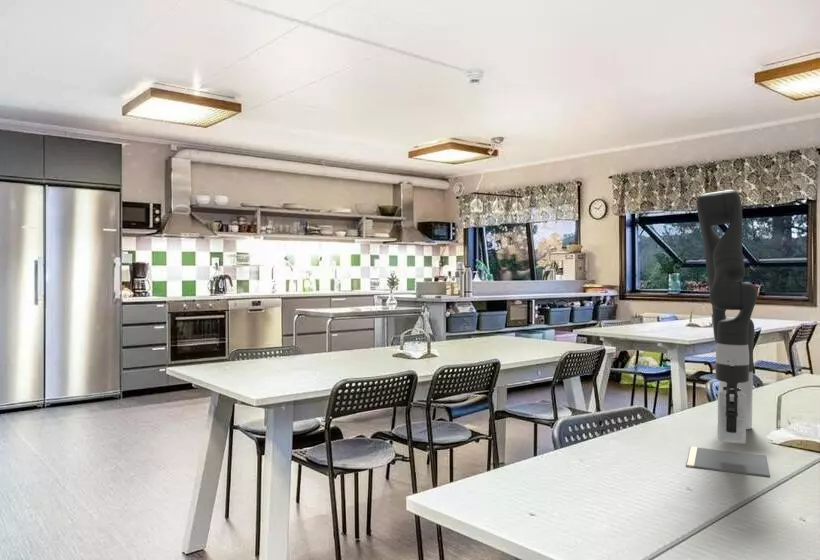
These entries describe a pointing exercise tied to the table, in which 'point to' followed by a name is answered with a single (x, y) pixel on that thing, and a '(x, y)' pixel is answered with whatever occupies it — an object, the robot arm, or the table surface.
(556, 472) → the table surface
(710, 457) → the mat
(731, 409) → the skincare box
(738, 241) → the robot arm
